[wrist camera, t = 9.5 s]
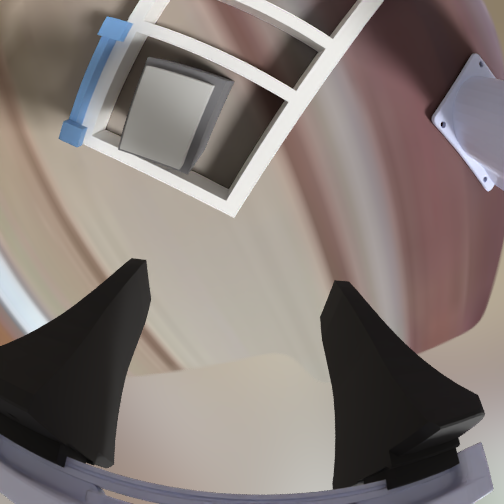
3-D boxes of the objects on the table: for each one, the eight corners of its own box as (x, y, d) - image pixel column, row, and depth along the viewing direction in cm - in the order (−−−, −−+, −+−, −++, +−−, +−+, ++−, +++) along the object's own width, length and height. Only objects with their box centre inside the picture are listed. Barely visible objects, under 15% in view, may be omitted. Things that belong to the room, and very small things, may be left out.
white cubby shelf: (392, -20, 10) (416, -33, 7) (235, 205, 20) (232, 230, 17) (230, -98, 7) (225, -121, 4) (85, 131, 17) (57, 144, 14)
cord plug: (234, 81, 15) (224, 80, 10) (204, 149, 18) (184, 180, 13) (176, 61, 14) (141, 55, 9) (150, 130, 17) (111, 153, 12)
